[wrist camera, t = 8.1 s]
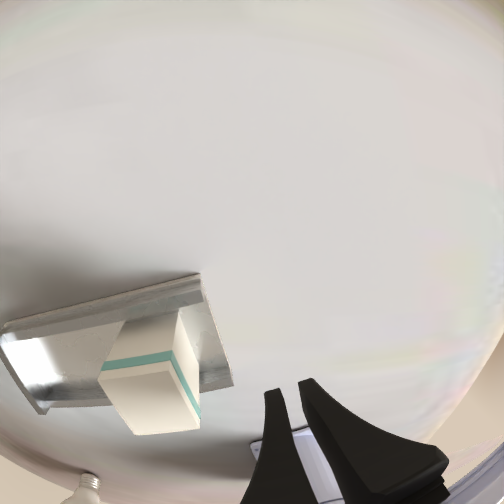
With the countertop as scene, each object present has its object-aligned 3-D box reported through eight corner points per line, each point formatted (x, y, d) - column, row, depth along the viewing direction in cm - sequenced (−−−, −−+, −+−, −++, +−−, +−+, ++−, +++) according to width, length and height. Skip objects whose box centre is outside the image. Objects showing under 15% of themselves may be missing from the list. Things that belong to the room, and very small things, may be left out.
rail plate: (231, 369, 20) (236, 397, 17) (50, 394, 19) (38, 415, 15) (200, 273, 18) (199, 293, 15) (7, 321, 16) (-12, 339, 13)
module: (199, 366, 19) (200, 428, 13) (147, 375, 18) (135, 436, 13) (178, 311, 17) (169, 369, 12) (122, 323, 17) (95, 379, 11)
